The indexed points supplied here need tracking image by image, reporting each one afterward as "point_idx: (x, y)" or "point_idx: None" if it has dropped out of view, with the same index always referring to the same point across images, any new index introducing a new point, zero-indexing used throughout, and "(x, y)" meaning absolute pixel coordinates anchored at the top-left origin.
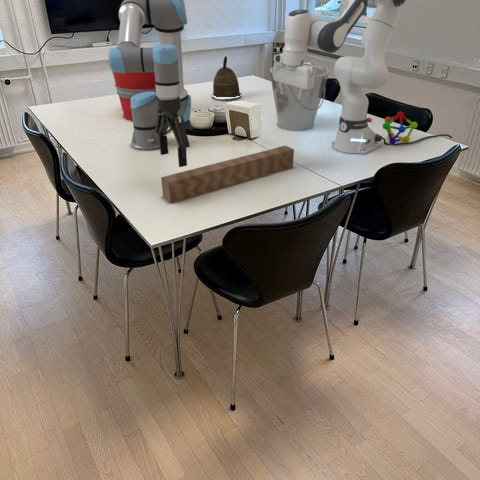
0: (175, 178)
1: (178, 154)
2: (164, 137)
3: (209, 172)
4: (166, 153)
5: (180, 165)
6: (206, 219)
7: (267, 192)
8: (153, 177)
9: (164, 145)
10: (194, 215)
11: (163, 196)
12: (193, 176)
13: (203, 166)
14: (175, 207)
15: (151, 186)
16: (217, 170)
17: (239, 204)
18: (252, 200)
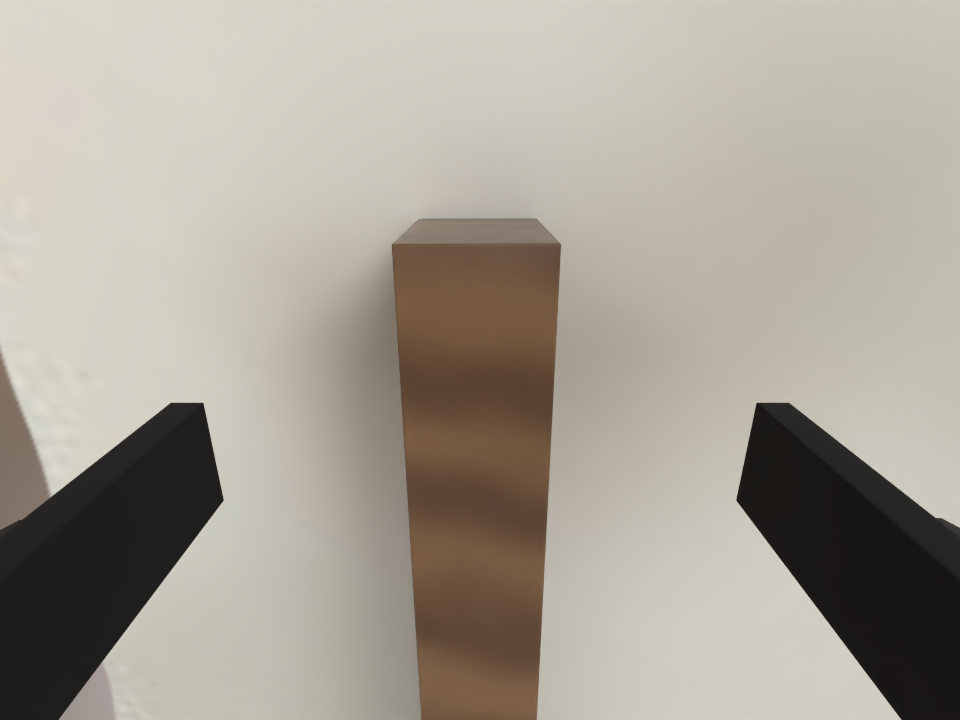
0: (446, 348)
1: (39, 524)
2: (955, 712)
3: (415, 619)
4: (744, 477)
5: (156, 423)
6: (81, 311)
7: (261, 715)
8: (894, 318)
9: (829, 549)
10: (165, 273)
11: (529, 219)
12: (408, 494)
13: (539, 637)
14: (338, 220)
15: (768, 231)
16: (419, 674)
17: (193, 553)
18: (208, 623)
